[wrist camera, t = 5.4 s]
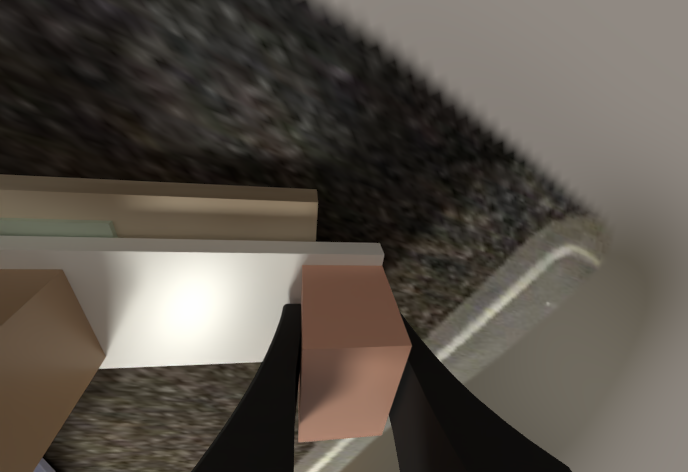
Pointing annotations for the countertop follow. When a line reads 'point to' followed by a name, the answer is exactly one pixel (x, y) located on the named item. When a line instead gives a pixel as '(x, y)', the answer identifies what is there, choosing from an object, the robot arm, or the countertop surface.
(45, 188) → the board
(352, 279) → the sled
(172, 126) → the countertop surface
